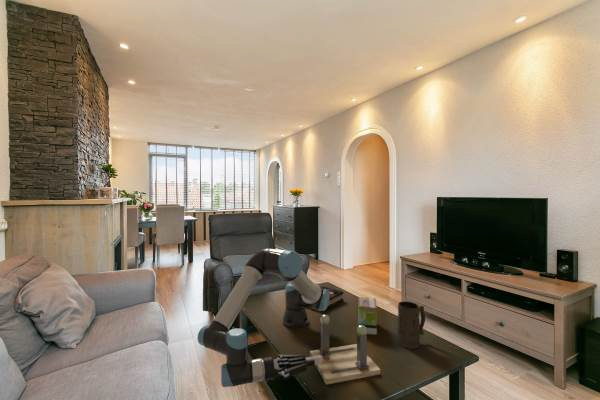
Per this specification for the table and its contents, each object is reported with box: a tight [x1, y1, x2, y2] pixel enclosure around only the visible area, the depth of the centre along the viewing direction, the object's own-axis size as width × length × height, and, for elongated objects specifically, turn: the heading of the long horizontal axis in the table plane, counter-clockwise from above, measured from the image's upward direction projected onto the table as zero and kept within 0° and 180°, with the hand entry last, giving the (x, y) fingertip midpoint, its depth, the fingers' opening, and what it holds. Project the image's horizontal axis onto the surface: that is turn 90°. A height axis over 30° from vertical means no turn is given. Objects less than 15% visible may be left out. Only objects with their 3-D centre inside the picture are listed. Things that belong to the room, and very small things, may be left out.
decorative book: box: [317, 285, 344, 312], centre depth 195 cm, size 19×8×30 cm
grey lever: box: [318, 314, 331, 356], centre depth 129 cm, size 4×4×18 cm
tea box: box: [357, 296, 378, 335], centre depth 158 cm, size 15×10×15 cm
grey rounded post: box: [355, 325, 368, 370], centre depth 119 cm, size 4×4×18 cm
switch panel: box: [309, 343, 381, 385], centre depth 124 cm, size 21×24×2 cm
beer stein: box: [396, 301, 426, 350], centre depth 142 cm, size 15×11×20 cm
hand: (321, 359), depth 114 cm, fingers closed
